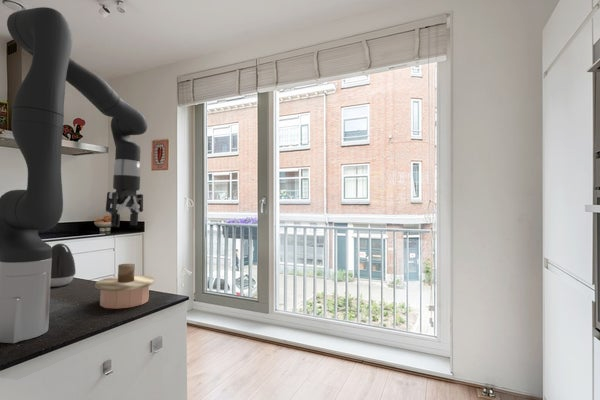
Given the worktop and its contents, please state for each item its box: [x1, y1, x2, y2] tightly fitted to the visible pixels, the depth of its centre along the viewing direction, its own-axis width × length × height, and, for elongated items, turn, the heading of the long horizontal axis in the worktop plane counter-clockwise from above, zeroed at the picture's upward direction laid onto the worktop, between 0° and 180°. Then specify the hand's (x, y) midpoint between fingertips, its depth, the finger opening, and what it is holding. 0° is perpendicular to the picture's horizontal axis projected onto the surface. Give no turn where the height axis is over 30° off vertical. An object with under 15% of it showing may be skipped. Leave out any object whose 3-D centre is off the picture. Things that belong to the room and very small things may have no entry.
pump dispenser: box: [50, 243, 76, 288], centre depth 115 cm, size 10×10×15 cm
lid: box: [94, 263, 155, 291], centre depth 98 cm, size 16×16×6 cm
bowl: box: [99, 286, 150, 310], centre depth 98 cm, size 13×13×6 cm
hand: (124, 225), depth 100 cm, fingers open, 8 cm apart
